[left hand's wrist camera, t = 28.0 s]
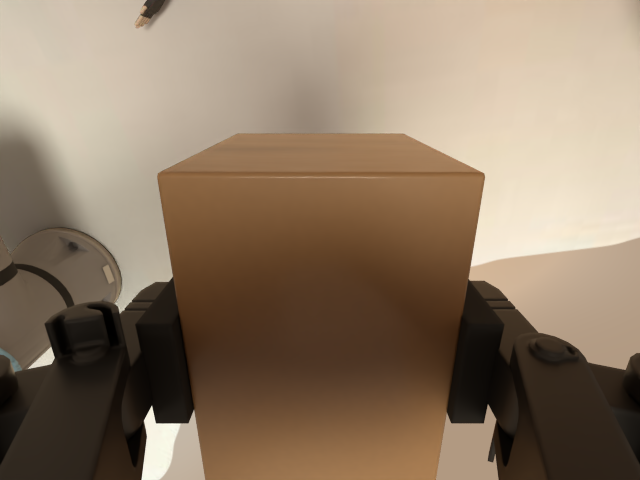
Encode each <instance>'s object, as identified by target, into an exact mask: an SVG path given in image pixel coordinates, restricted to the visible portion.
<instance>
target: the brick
mask: <svg viewBox="0 0 640 480" xmlns="http://www.w3.org/2000/svg"><path fill="white" fill-rule="evenodd" d="M157 178H158V184H159V191H160V197H161V203H162V210H163V216H164V222H165V228H166V235H167V241H168V247H169V254H170V260H171V266H172V272H173V279H174V285H175V291H176V298H177V304H178V310H179V316H180V323H181V329H182V335H183V342H184V348H185V354H186V360H187V367H188V373H189V379H190V386H191V392H192V398H193V404H194V411H195V417H196V423H197V429H198V436H199V442H200V449H201V455H202V461H203V467H204V474H205V480H436V475H437V469H438V463H439V457H440V450H441V444H442V438H443V432H444V426H445V420H446V414H447V407H448V400H449V394H450V388H451V382H452V376H453V369H454V363H455V357H456V351H457V345H458V339H459V332H460V326H461V320H462V315H463V309H464V303H465V297H466V291H467V284H468V278H469V272H470V266H471V260H472V254H473V248H474V241H475V235H476V229H477V223H478V217H479V211H480V204H481V198H482V192H483V186H484V180H485V175H484V173H482V172H480V171H478V170H476V169H474V168H472V167H470V166H468V165H466V164H464V163H462V162H460V161H458V160H456V159H454V158H452V157H450V156H448V155H446V154H444V153H442V152H440V151H437V150H435V149H433V148H431V147H429V146H427V145H425V144H423V143H421V142H419V141H417V140H415V139H413V138H411V137H409V136H407V135H405V134H236V135H234V136H232V137H230V138H228V139H226V140H224V141H222V142H220V143H218V144H216V145H214V146H212V147H210V148H208V149H206V150H204V151H202V152H200V153H198V154H196V155H194V156H192V157H190V158H188V159H186V160H184V161H182V162H180V163H178V164H176V165H174V166H172V167H170V168H168V169H166V170H164V171H162V172H160V173H158V176H157Z"/></svg>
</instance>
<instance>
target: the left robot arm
mask: <svg viewBox="0 0 640 480" xmlns="http://www.w3.org/2000/svg"><path fill="white" fill-rule="evenodd" d="M120 290H121V276H120V272H119V269H118V267H117V264H116V262H115V261H114V259H113V257H112V256H111V254H110V253H109V252H108V251H107V250H106V249H105V248H104V247H103V246H102V245H101V244H100V243H99V242H97V241H96V240H94V239H93V238H91V237H90V236H88V235H86V234H84V233H81V232H79V231H76V230H72V229H67V228H50V229H45V230H42V231H40V232H37V233H35V234H33V235H31V236H29V237H28V238H26V239H25V240H24V241H22V242H21V243H20V244H19V245H18V246H17V247H16V248H15V250H14V251H13V252H12V253H11V255H10V254H9V252H8V250H7V248H6V246H5V244H4V242H3V240H2V238H1V236H0V480H141V479H142V471H143V463H144V455H145V447H146V439H147V435H146V429H145V424H144V419H145V417H146V415H147V413H148V412H149V410H150V408H151V406H152V407H153V411H154V416H155V421H156V423H189V420H190V418H191V415H192V413H193V410H194V404H193V398H192V392H191V386H190V379H189V373H188V367H187V360H186V354H185V348H184V342H183V335H182V329H181V323H180V316H179V310H178V304H177V298H176V291H175V285H174V279H173V278H172V279H171V280H170V281H169V282H155V283H153V284H152V285H150V286H148V287H146V288H145V289H143V290H141V291H140V292H139V293H138V295H137V296H136V297H135V298H134V299H133V300H132V302H130V303H129V305H128V306H127V307H126V308H125V311H122V312H121V313H120V314H119V309H118V306H116V305H115V304H114V303H115V302H116V300H117V298H118V296H119V294H120ZM50 347H52V350H53V353H54V356H55V359H54V361H53V363H52V364H51V365H47V366H42V367H37V368H32V369H28V368H29V367H30V366H31V365H32V364H33V363H34V362H35V361H36V360H37V359H38V358H39V357H40V356H42V355H43V354H44V353H45V352H46V351H47V350H48V349H49V348H50ZM487 405H489V406H490V408H491V410H492V412H493V414H494V416H495V417H496V419H497V420H496V424H495V429H494V433H493V438H492V442H491V446H490V451H489V456H488V461H490V462H493V460H494V456H495V454H496V461H497V470H498V477H499V480H640V353H636V354H635V355H633V356H632V357H630V360H629V363H628V365H627V368H626V370H622V369H617V368H612V367H607V366H602V365H597V364H592V363H588V362H587V360H586V358H585V357H584V356H583V354H582V353H581V352H580V351H579V350H578V349H577V348H576V347H574V346H573V345H571V344H570V343H568V342H566V341H564V340H562V339H559V338H557V337H555V336H551V335H547V334H543V333H538V332H537V331H536V329H535V328H534V327H533V326H532V325H531V324H530V323H529V322H528V321H527V320H526V318H525V317H524V316H523V315H522V314H521V313H520V312H519V311H518V310H517V309H515V306H514V305H513V304H512V303H511V302H510V301H508V299H507V298H506V297H505V296H504V294H503V293H502V292H501V291H500V290H499V289H497V288H496V287H494V286H492V285H491V284H489V283H487V282H485V281H470V280H469V279H468V284H467V291H466V297H465V303H464V309H463V315H462V320H461V326H460V332H459V339H458V345H457V351H456V357H455V363H454V369H453V376H452V382H451V388H450V394H449V400H448V407H447V414H448V416H449V419H450V421H451V423H484V420H485V415H486V410H487Z"/></svg>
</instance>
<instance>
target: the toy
mask: <svg viewBox="0 0 640 480" xmlns="http://www.w3.org/2000/svg"><path fill="white" fill-rule="evenodd" d="M164 1H165V0H147V1H146V2H145V4H144V5H143V7H142V9H141V11H140V13H141V15H140V16H139V18H138V19H137V21H136V22H135V26H136V28H139V27H140V26H141V27H142V26H144V24H147V23H148V22H149V20H150V19H151V17H152V16H153V15H154V14H156V13H157V12H158V11H159V9H160V8H161V6H162V5H163V3H164Z"/></svg>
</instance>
